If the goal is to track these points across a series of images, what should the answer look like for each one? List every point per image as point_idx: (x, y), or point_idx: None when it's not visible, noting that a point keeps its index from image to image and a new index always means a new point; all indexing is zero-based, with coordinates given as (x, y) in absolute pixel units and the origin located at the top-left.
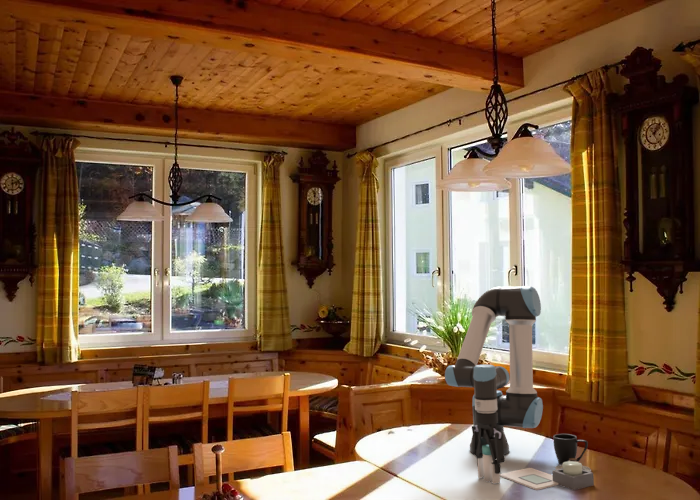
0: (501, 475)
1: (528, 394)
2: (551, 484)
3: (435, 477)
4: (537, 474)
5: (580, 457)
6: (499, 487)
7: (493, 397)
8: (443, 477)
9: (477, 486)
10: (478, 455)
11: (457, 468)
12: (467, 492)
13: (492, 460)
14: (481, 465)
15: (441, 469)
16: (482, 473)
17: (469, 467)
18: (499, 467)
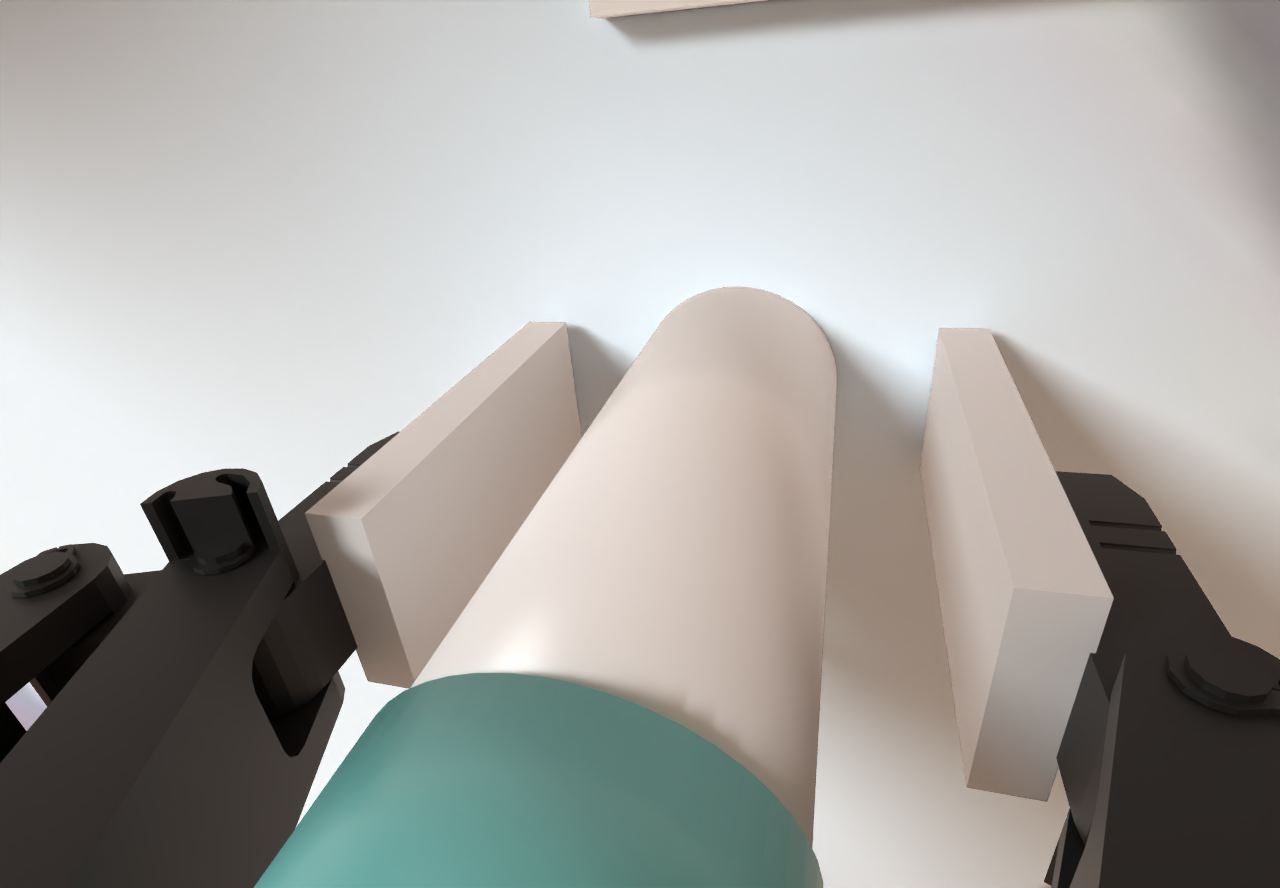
0: (668, 6)
1: None
2: None
3: (348, 727)
4: None
5: None
6: (1165, 495)
7: None
8: (369, 685)
9: (857, 670)
10: (325, 729)
11: (66, 369)
12: (958, 860)
13: (820, 669)
14: (487, 524)
15: (98, 532)
16: (551, 424)
17: (21, 191)
18: (1182, 603)
